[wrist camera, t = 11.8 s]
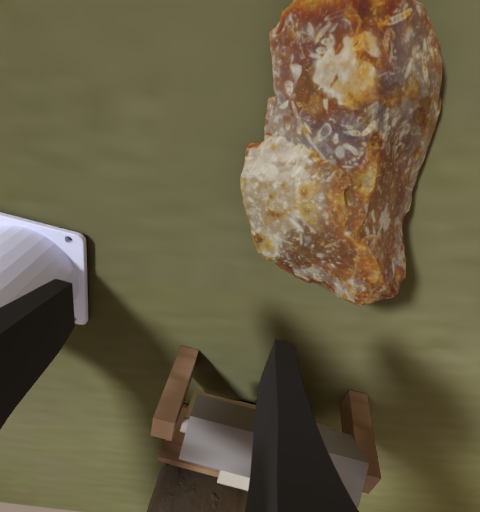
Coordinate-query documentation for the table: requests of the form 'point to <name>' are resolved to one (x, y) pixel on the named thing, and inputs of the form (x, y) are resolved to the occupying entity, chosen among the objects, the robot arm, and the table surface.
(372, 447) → the frame
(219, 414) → the trapdoor
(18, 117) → the table surface
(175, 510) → the pillar candle
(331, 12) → the decorative stone
